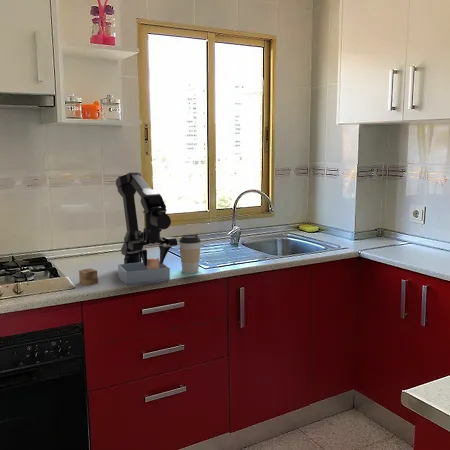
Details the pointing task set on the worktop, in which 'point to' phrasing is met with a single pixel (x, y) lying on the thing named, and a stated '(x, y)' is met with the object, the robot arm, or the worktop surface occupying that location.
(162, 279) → the tote
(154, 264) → the pink rectangular block
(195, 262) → the coffee cup
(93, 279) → the cube
